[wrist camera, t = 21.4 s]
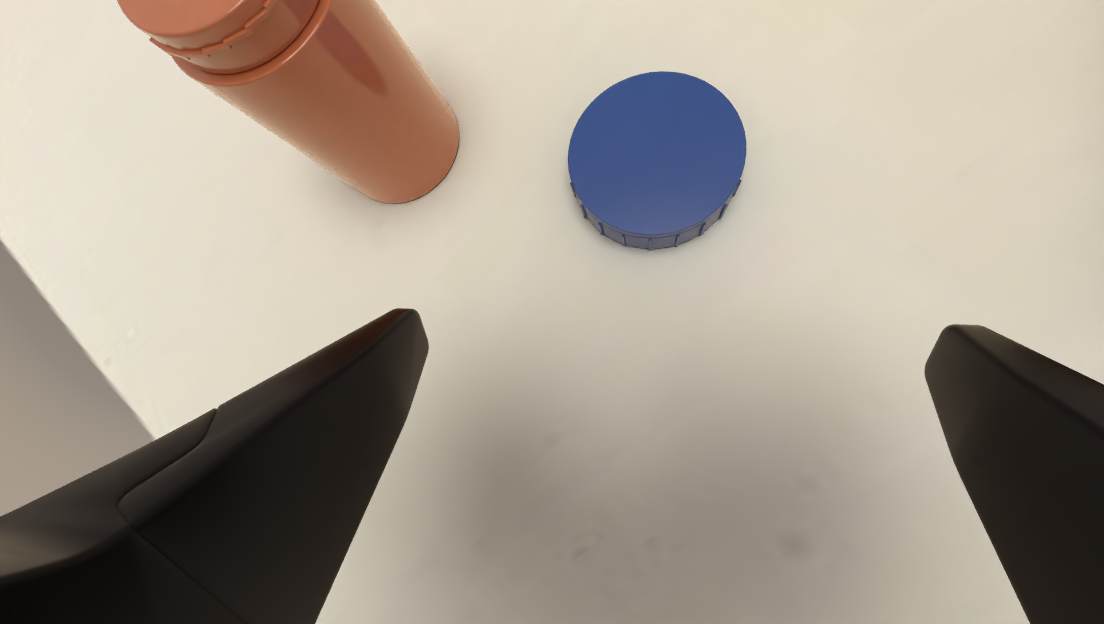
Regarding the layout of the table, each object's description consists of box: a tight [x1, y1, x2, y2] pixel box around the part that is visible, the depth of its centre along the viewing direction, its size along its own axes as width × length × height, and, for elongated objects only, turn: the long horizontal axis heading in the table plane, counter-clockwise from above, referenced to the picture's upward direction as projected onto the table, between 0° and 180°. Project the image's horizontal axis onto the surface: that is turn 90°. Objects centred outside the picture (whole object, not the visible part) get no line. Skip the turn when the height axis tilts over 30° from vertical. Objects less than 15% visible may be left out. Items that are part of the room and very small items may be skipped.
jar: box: [117, 0, 459, 204], centre depth 17 cm, size 6×6×11 cm
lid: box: [568, 72, 746, 250], centre depth 19 cm, size 7×7×2 cm
